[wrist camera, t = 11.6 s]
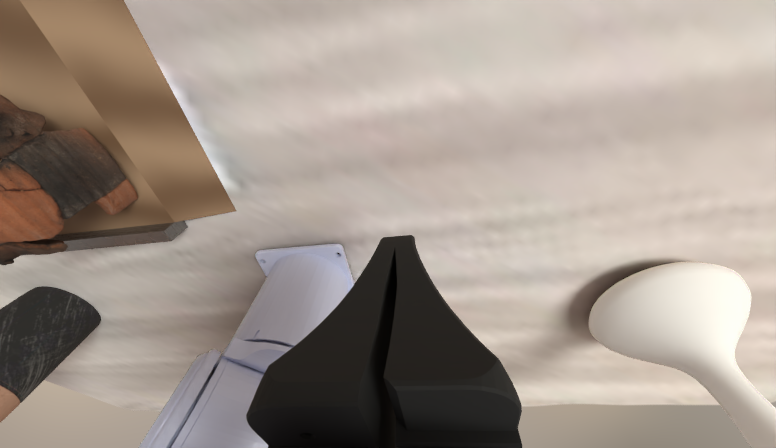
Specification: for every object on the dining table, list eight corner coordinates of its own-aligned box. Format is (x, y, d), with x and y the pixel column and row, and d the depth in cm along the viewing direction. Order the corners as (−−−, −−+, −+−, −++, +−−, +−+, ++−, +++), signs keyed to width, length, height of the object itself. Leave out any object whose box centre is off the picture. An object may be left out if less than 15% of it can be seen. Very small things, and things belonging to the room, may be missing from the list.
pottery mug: (166, 226, 24) (39, 298, 19) (101, 173, 26) (-27, 225, 21) (69, 84, 15) (-226, 150, 10) (-17, 21, 17) (-293, 48, 12)
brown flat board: (240, 205, 24) (230, 216, 22) (44, 227, 26) (25, 238, 25) (104, -56, 15) (75, -65, 13) (-171, 18, 17) (-218, 17, 16)
